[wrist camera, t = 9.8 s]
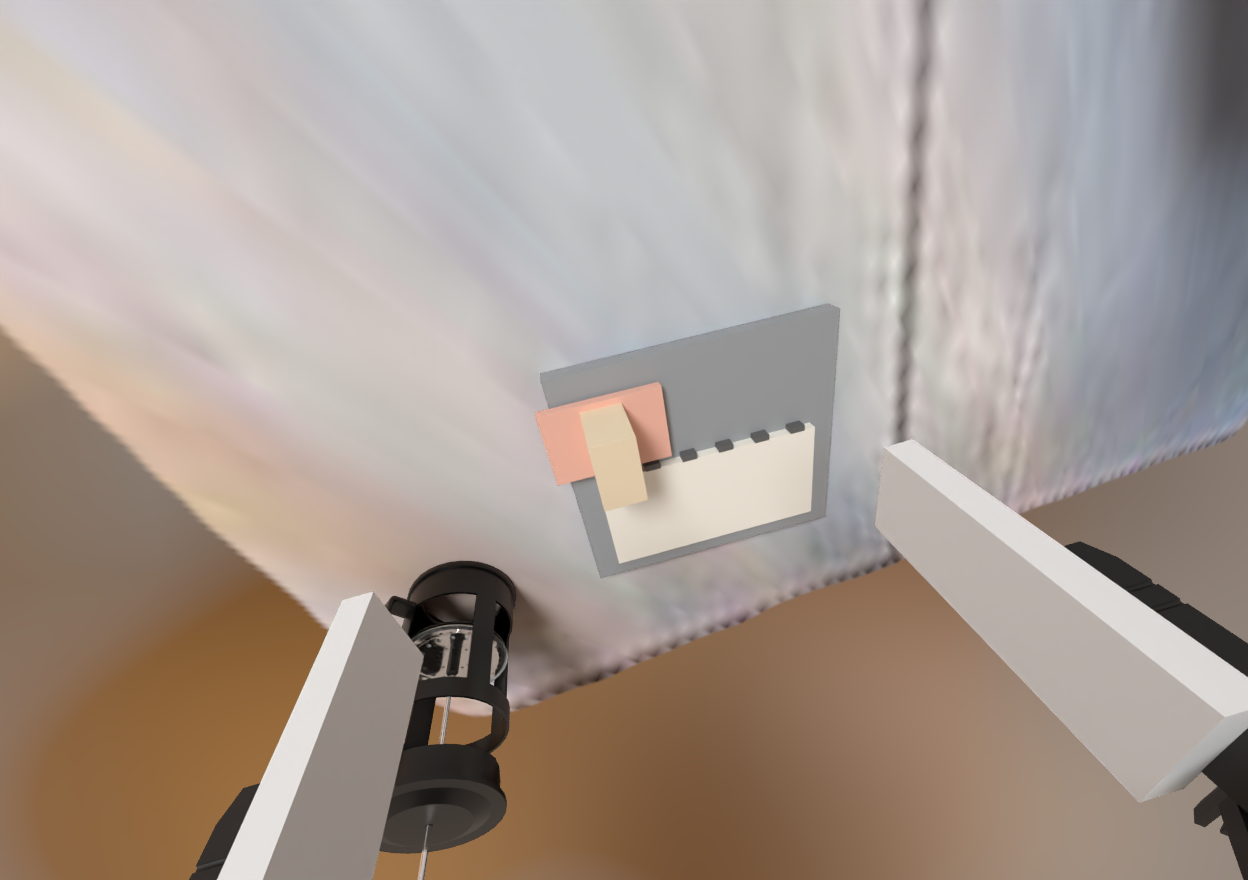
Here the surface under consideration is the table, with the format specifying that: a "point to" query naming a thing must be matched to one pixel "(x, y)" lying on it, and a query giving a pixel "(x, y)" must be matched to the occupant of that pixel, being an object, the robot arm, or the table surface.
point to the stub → (608, 441)
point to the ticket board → (717, 436)
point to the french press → (452, 667)
